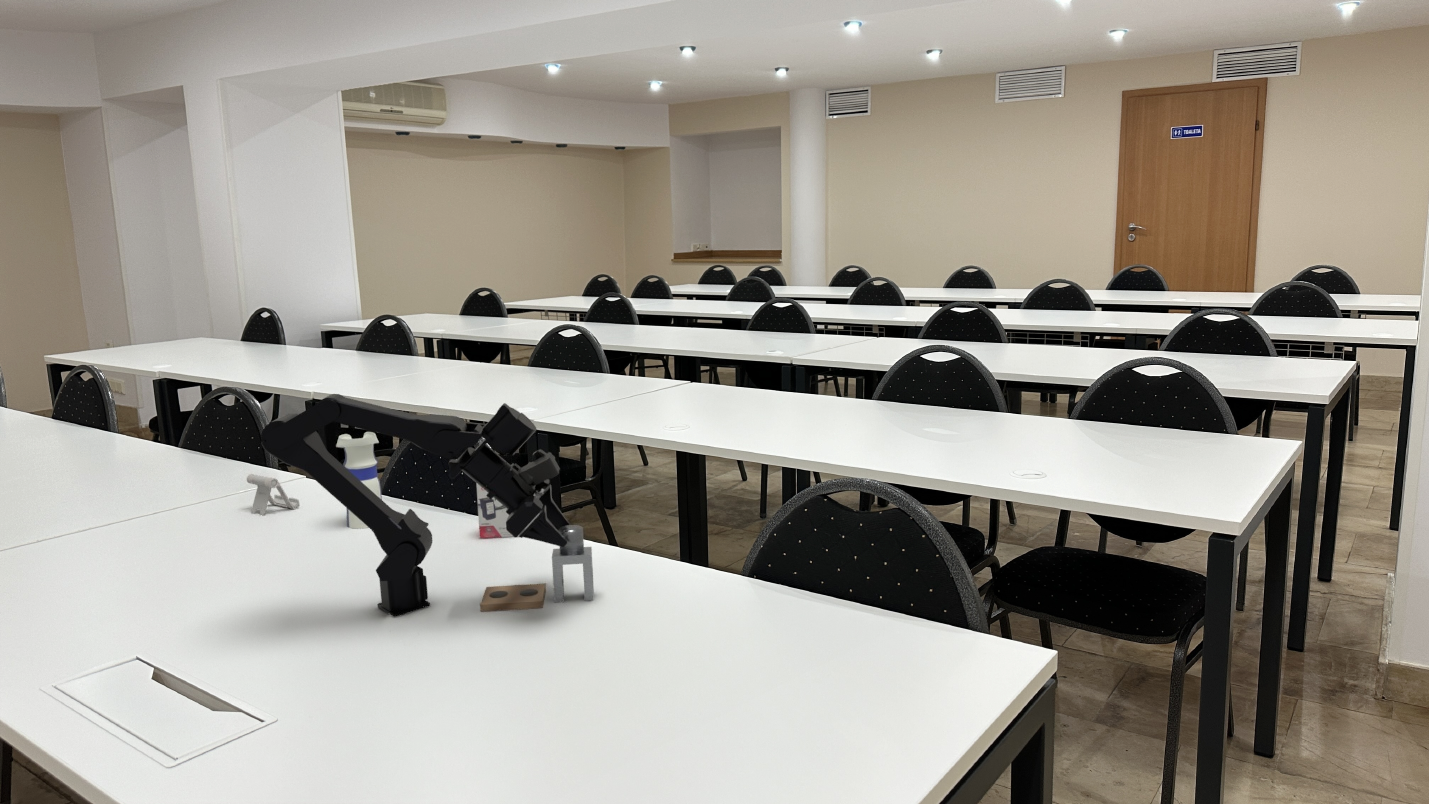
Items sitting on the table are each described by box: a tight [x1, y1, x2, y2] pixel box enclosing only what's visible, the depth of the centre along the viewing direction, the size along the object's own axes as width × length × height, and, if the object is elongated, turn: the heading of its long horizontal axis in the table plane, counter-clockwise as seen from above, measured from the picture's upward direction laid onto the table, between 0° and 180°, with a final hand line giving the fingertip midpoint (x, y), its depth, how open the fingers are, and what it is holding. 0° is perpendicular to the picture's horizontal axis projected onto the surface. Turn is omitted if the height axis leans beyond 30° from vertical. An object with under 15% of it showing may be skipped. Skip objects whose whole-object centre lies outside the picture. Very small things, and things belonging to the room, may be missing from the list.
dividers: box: [551, 524, 595, 604], centre depth 161 cm, size 6×4×12 cm, turn 96°
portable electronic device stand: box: [246, 473, 301, 517], centre depth 218 cm, size 9×8×8 cm
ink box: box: [476, 483, 519, 539], centre depth 196 cm, size 8×5×12 cm, turn 98°
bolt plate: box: [479, 583, 547, 613], centre depth 161 cm, size 10×8×1 cm
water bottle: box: [335, 431, 383, 530], centre depth 205 cm, size 8×9×25 cm
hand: (567, 535), depth 160 cm, fingers open, 9 cm apart
